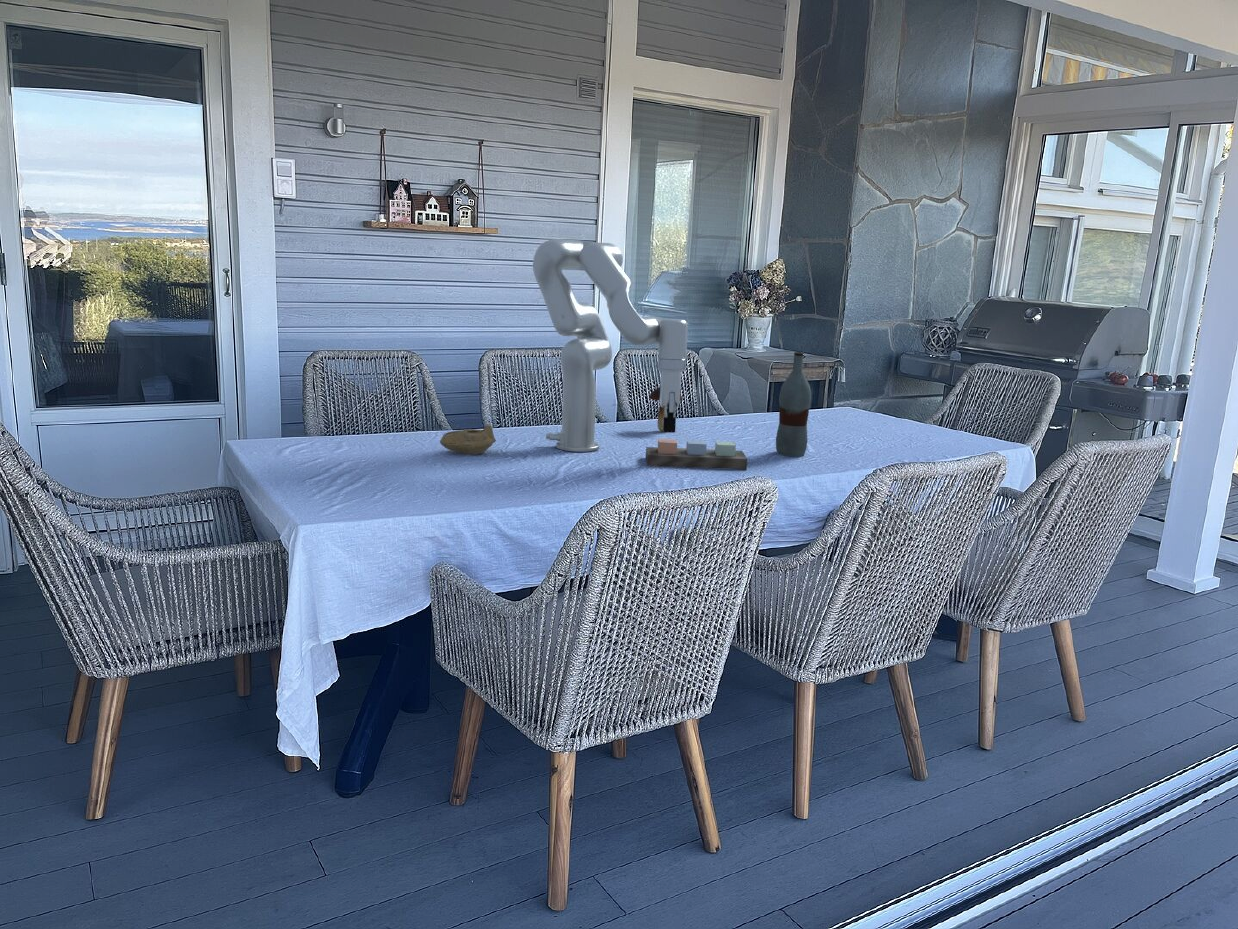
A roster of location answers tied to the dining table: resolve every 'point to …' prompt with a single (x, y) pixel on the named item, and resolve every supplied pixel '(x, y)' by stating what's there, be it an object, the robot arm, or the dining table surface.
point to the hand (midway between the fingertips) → (669, 431)
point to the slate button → (696, 447)
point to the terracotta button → (667, 446)
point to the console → (696, 459)
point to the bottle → (793, 411)
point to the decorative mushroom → (656, 396)
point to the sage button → (725, 448)
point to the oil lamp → (469, 440)
